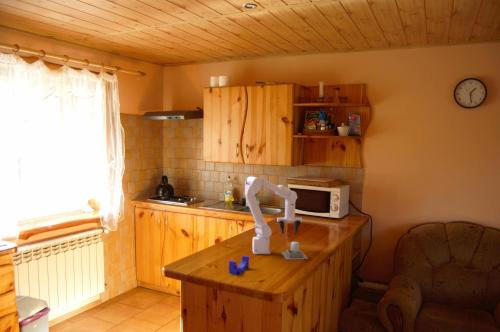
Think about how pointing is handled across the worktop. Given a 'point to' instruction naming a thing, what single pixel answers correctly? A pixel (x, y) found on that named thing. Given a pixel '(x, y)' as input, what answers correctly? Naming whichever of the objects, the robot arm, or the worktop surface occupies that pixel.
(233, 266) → the cable clip
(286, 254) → the grey square tray
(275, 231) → the worktop surface
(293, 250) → the cylinder
